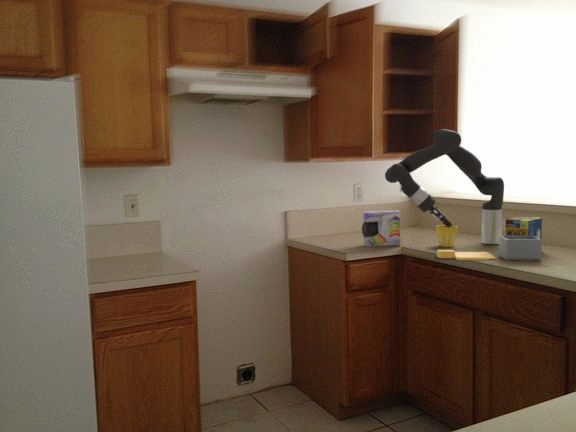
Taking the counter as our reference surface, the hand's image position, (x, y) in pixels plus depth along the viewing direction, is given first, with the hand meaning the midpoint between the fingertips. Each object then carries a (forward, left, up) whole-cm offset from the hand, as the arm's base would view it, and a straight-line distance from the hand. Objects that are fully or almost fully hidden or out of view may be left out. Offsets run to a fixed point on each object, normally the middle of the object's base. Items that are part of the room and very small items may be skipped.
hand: (448, 225), depth 242 cm
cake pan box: (-33, -28, -15) cm, 46 cm away
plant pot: (-31, +4, -15) cm, 35 cm away
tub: (+3, +29, -14) cm, 33 cm away
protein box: (-13, +35, -15) cm, 40 cm away
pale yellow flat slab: (0, +7, -14) cm, 16 cm away
